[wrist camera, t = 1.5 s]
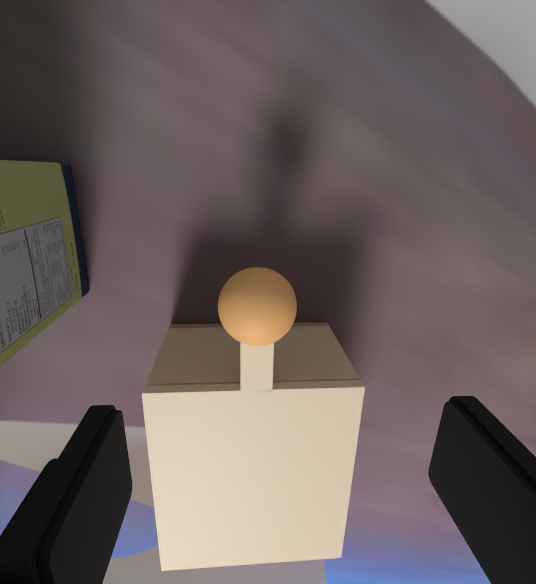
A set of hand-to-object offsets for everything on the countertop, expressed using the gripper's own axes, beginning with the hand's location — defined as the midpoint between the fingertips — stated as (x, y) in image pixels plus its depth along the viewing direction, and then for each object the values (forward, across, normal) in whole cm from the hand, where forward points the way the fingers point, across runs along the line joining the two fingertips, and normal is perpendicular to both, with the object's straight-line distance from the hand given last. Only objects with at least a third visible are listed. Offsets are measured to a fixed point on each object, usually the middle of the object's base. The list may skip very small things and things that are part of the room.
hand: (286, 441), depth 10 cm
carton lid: (+13, 0, +10) cm, 17 cm away
